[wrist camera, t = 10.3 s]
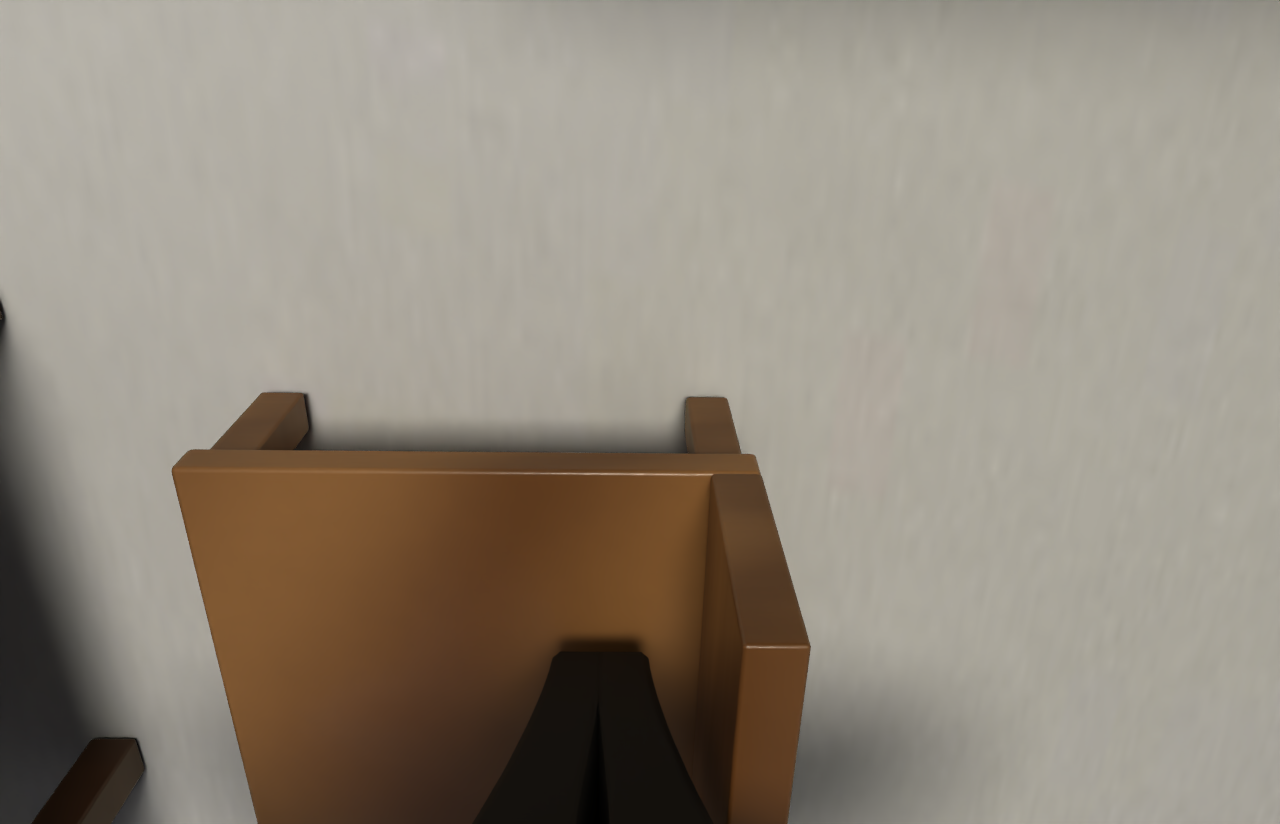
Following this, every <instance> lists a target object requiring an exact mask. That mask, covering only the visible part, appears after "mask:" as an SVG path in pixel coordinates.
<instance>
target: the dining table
mask: <svg viewBox="0 0 1280 824" xmlns="http://www.w3.org/2000/svg"><path fill="white" fill-rule="evenodd" d="M1 319H2V313H1V310H0V320H1ZM143 771H144V765H143V762H142V759H141V756H140V753H139V749H138V746H137V743H136V740H135V739H92V740H91V741H90V742H89V744H88V745H87V746H86V748H85V749H84V751H83V752H82V753H81V755H80V756H79V758H78V759H77V760H76V762H75V763H74V765H73V766H72V767H71V769H70V770H69V772H68V773H67V774H66V776H65V777H64V779H63V780H62V781H61V783H60V784H59V786H58V787H57V788H56V790H55V791H54V793H53V794H52V795H51V797H50V798H49V800H48V801H47V802H46V804H45V805H44V807H43V808H42V809H41V811H40V812H39V814H38V815H37V816H36V818H35V819H34V821H33V822H32V823H31V824H111V823H112V821H113V820H114V818H115V817H116V815H117V813H118V812H119V810H120V809H121V807H122V805H123V804H124V802H125V800H126V799H127V797H128V796H129V794H130V792H131V791H132V789H133V788H134V786H135V784H136V783H137V781H138V779H139V778H140V776H141V775H142V773H143Z"/></svg>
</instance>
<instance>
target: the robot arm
mask: <svg viewBox="0 0 1280 824" xmlns="http://www.w3.org/2000/svg"><path fill="white" fill-rule="evenodd" d="M472 824H714V823H713V821H712V819H711V817H710V816H709V814H708V812H707V810H706V808H705V806H704V804H703V802H702V800H701V798H700V796H699V795H698V792H697V790H696V788H695V786H694V784H693V782H692V780H691V778H690V776H689V774H688V772H687V769H686V767H685V765H684V763H683V760H682V758H681V756H680V754H679V751H678V749H677V747H676V744H675V742H674V740H673V737H672V735H671V732H670V730H669V727H668V725H667V722H666V719H665V717H664V714H663V711H662V708H661V705H660V703H659V699H658V696H657V693H656V690H655V686H654V683H653V679H652V674H651V670H650V664H649V658H648V657H647V656H646V655H644V654H643V653H642V652H568V651H560V652H559V653H558V654H557V655H555V656H554V657H553V658H552V662H551V666H550V669H549V673H548V675H547V678H546V681H545V684H544V687H543V689H542V692H541V694H540V697H539V699H538V702H537V704H536V706H535V708H534V711H533V713H532V715H531V717H530V720H529V722H528V724H527V726H526V728H525V730H524V732H523V734H522V736H521V738H520V740H519V742H518V744H517V746H516V748H515V750H514V752H513V754H512V756H511V758H510V760H509V762H508V764H507V765H506V767H505V769H504V771H503V773H502V774H501V776H500V778H499V780H498V781H497V783H496V785H495V786H494V788H493V790H492V791H491V793H490V795H489V796H488V798H487V800H486V802H485V803H484V805H483V807H482V808H481V810H480V812H479V813H478V815H477V817H476V818H475V820H474V822H473V823H472Z"/></svg>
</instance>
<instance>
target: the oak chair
mask: <svg viewBox="0 0 1280 824" xmlns="http://www.w3.org/2000/svg"><path fill="white" fill-rule="evenodd" d="M308 429H309V426H308V420H307V414H306V408H305V402H304V396H303V394H302V393H261V394H260V395H259V396H258V397H257V399H256V400H255V401H254V402H253V403H252V404H251V405H250V406H249V407H248V408H247V409H246V411H245V412H244V413H243V414H242V415H241V416H240V417H239V418H238V419H237V420H236V422H235V423H234V424H233V425H232V426H231V427H230V428H229V429H228V430H227V431H226V432H225V434H224V435H223V436H222V437H221V438H220V439H219V440H218V441H217V442H216V443H215V445H214V446H213V447H212V448H211V449H210V450H203V449H193V450H190V451H187V453H186V454H185V455H184V456H183V457H182V458H181V459H180V460H179V461H178V462H177V463H176V464H175V465H174V466H173V468H172V475H173V480H174V484H175V488H176V492H177V496H178V500H179V504H180V508H181V512H182V516H183V520H184V524H185V529H186V533H187V537H188V541H189V545H190V549H191V553H192V557H193V561H194V565H195V569H196V573H197V577H198V582H199V586H200V590H201V594H202V598H203V602H204V606H205V610H206V614H207V618H208V622H209V626H210V630H211V635H212V639H213V643H214V647H215V651H216V655H217V659H218V663H219V667H220V671H221V675H222V679H223V683H224V688H225V692H226V696H227V700H228V704H229V708H230V712H231V716H232V720H233V724H234V728H235V732H236V736H237V741H238V745H239V749H240V753H241V757H242V761H243V765H244V769H245V773H246V777H247V781H248V785H249V789H250V794H251V798H252V802H253V806H254V810H255V814H256V818H257V822H258V824H472V823H473V822H474V820H475V818H476V817H477V815H478V813H479V812H480V810H481V808H482V807H483V805H484V803H485V802H486V800H487V798H488V796H489V795H490V793H491V791H492V790H493V788H494V786H495V785H496V783H497V781H498V780H499V778H500V776H501V774H502V773H503V771H504V769H505V767H506V765H507V764H508V762H509V760H510V758H511V756H512V754H513V752H514V750H515V748H516V746H517V744H518V742H519V740H520V738H521V736H522V734H523V732H524V730H525V728H526V726H527V724H528V722H529V720H530V717H531V715H532V713H533V711H534V708H535V706H536V704H537V702H538V699H539V697H540V694H541V692H542V689H543V687H544V684H545V681H546V678H547V675H548V673H549V669H550V666H551V662H552V658H553V657H554V656H555V655H557V654H558V653H559V652H560V651H568V652H642V653H643V654H644V655H646V656H647V657H648V658H649V664H650V670H651V674H652V679H653V683H654V686H655V690H656V693H657V696H658V699H659V703H660V705H661V708H662V711H663V714H664V717H665V719H666V722H667V725H668V727H669V730H670V732H671V735H672V737H673V740H674V742H675V744H676V747H677V749H678V751H679V754H680V756H681V758H682V760H683V763H684V765H685V767H686V769H687V772H688V774H689V776H690V778H691V780H692V782H693V784H694V786H695V788H696V790H697V792H698V795H699V796H700V798H701V800H702V802H703V804H704V806H705V808H706V810H707V812H708V814H709V816H710V817H711V819H712V821H713V823H714V824H788V816H789V808H790V801H791V793H792V786H793V778H794V770H795V763H796V755H797V748H798V740H799V732H800V725H801V717H802V710H803V702H804V694H805V687H806V679H807V672H808V664H809V656H810V649H811V646H810V642H809V639H808V635H807V632H806V628H805V625H804V621H803V618H802V614H801V611H800V607H799V604H798V600H797V597H796V593H795V590H794V587H793V583H792V580H791V576H790V573H789V569H788V566H787V562H786V559H785V555H784V552H783V548H782V545H781V541H780V538H779V534H778V531H777V527H776V524H775V521H774V517H773V514H772V510H771V507H770V503H769V500H768V496H767V493H766V489H765V486H764V482H763V479H762V476H761V474H760V470H759V467H758V463H757V460H756V457H755V455H752V454H741V450H740V446H739V442H738V438H737V434H736V431H735V427H734V423H733V419H732V415H731V411H730V407H729V403H728V400H727V398H718V397H689V398H687V400H686V411H685V438H686V445H687V452H688V454H681V453H561V452H442V451H323V450H294V449H295V448H296V446H297V445H298V444H299V442H300V441H301V440H302V438H303V437H304V435H305V434H306V433H307V431H308Z"/></svg>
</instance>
